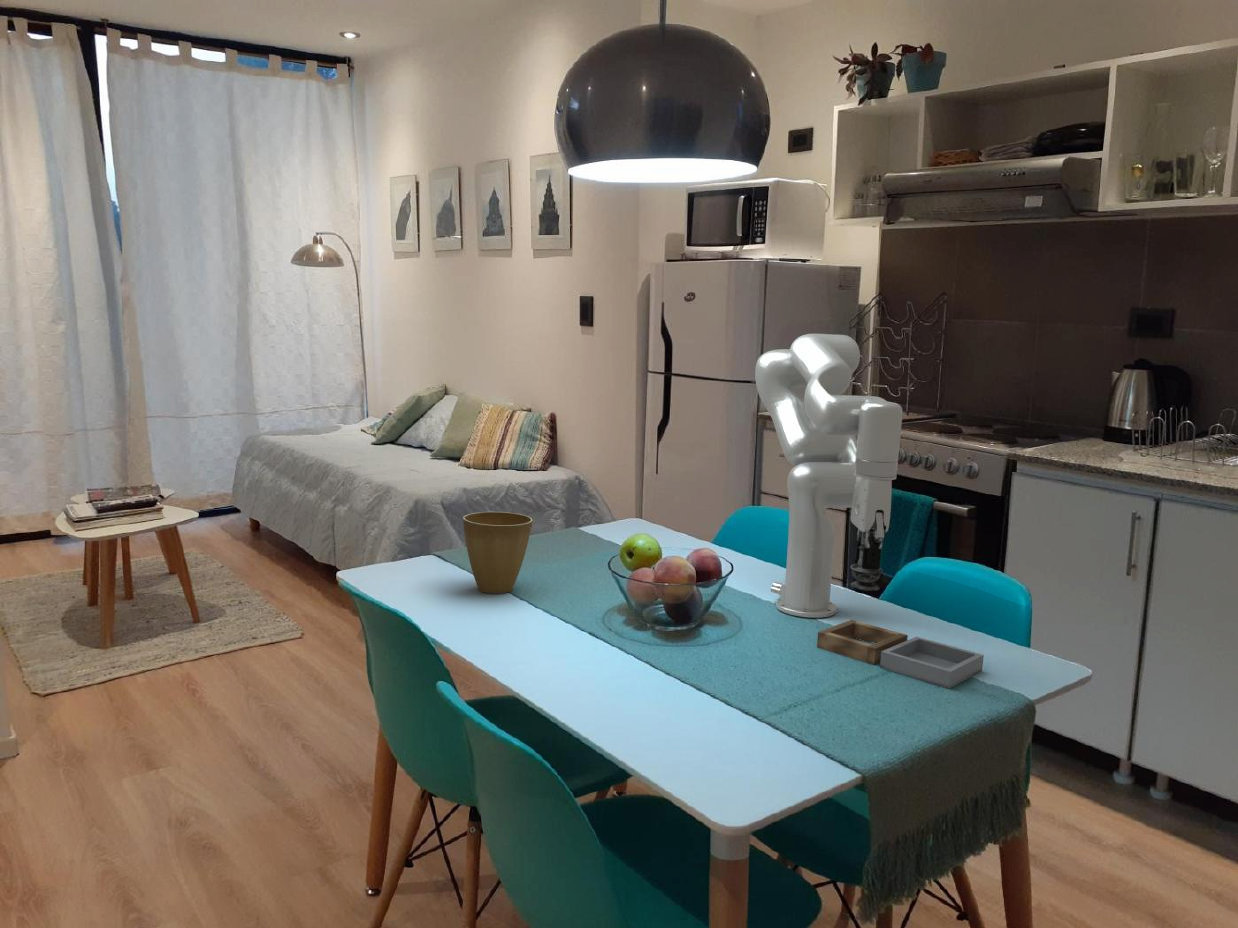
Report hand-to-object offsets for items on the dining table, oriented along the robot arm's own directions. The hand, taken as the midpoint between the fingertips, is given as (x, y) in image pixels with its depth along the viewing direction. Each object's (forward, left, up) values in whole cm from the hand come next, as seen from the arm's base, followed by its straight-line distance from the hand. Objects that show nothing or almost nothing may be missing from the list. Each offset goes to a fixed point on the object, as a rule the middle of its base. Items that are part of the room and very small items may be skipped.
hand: (867, 564), depth 182 cm
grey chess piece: (0, 0, -5) cm, 5 cm away
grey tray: (+14, 0, -16) cm, 22 cm away
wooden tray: (0, 0, -16) cm, 16 cm away
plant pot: (-73, -29, -16) cm, 80 cm away
